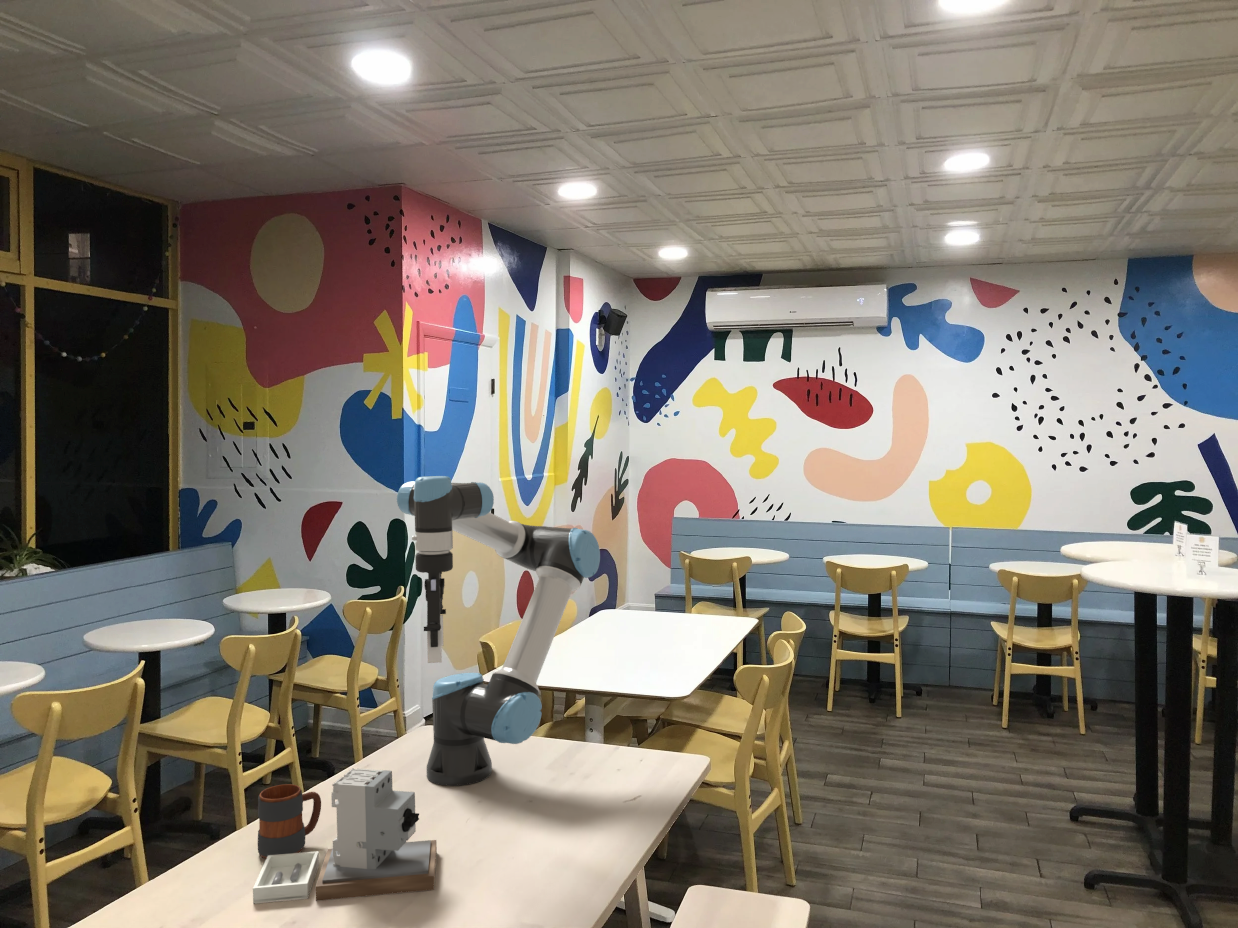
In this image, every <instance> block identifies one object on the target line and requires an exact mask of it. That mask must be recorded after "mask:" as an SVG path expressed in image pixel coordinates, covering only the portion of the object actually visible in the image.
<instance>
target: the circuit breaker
mask: <svg viewBox="0 0 1238 928" xmlns="http://www.w3.org/2000/svg"><path fill="white" fill-rule="evenodd" d="M331 786H332V787H333V788H332V792H331V808H336V837H335V838H334V839H333V840H332V849H333V858H334V864H333V866H336V865H340V867H350V868H362V869H374V870H375V869H376V868H377V867H378V866H379V865H380V864H381V863H382V862H383V861H384V859H385V858H386V857H387V856H388V855H389V854H390V853H391V852H392V851H398V850H399V849H400V848H401V847H402V846H403V845H404V844H405V843H406V842H408V841H409V840H410V838H411V837H412V836H413V835H414V834H415V833H416V831H417V830H416V823H417V822H418V821H419V820H420V817H419V816H420V813H417V812H416V793H415V791H404V790H393V771H392V770H390V769H389V770H386V769H385V770H383V769H372V768H371V769H370V768H356V769H355V768H353V767H352V768H351V769H350V770H348V771H347V772H346V773H344V774H343V776H341V777H340V778H338V779H337V780H336V781H335V782H333V783H332V784H331ZM336 851H337V855H336Z"/></svg>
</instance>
